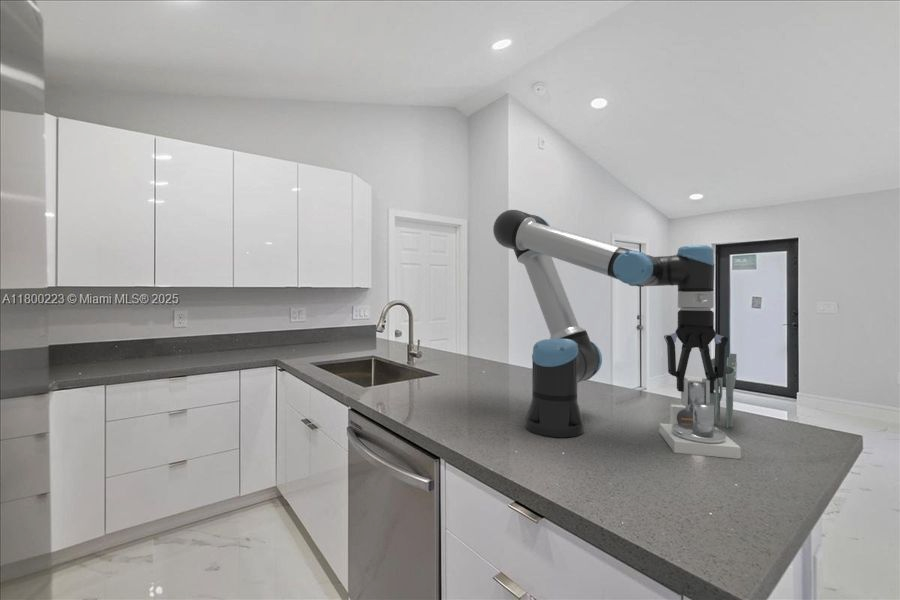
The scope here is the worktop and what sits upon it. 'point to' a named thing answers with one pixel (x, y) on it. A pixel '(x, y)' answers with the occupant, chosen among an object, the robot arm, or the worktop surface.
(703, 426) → the grey metal knob
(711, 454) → the scale
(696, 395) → the cylinder
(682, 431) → the pan
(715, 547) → the worktop surface
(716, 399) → the bracket
